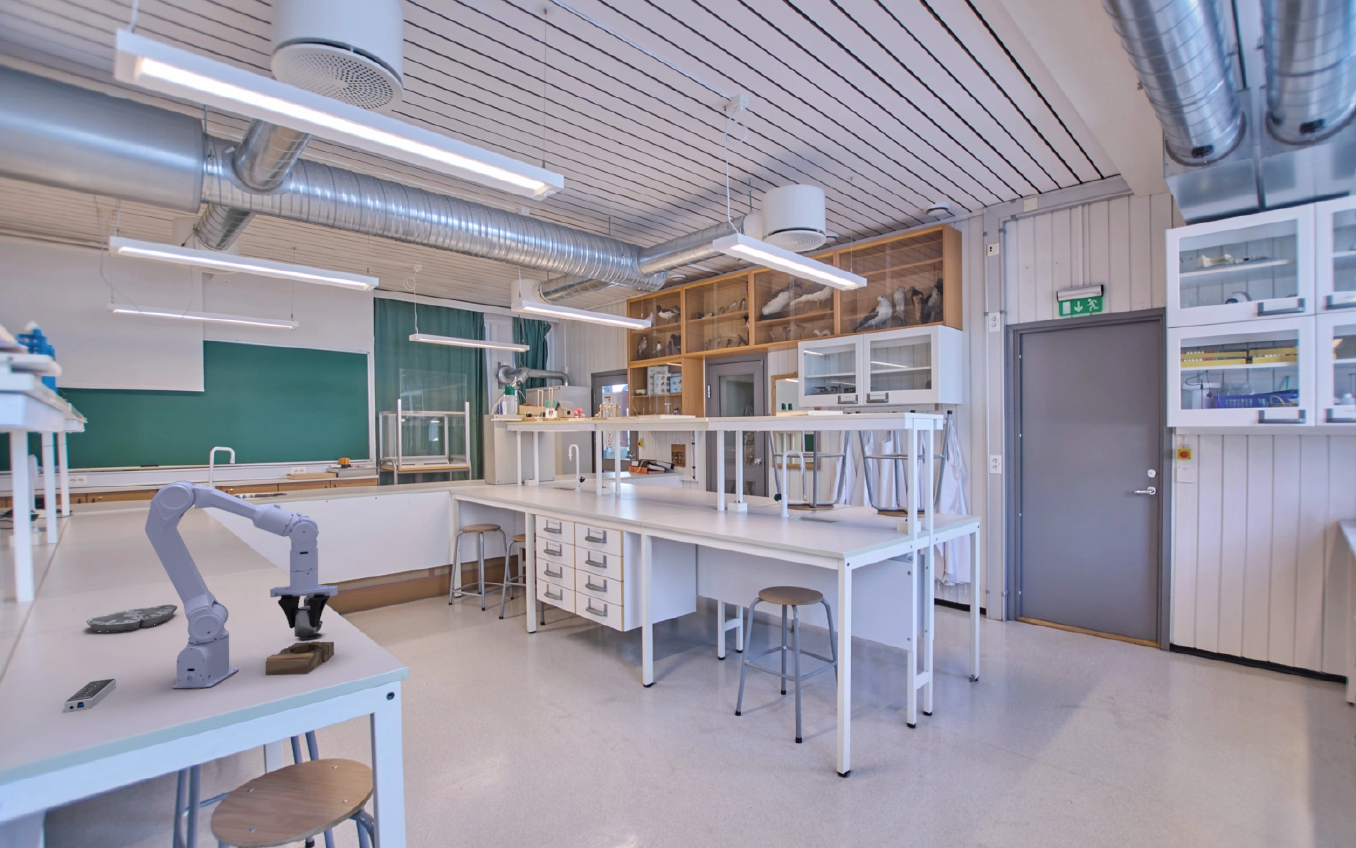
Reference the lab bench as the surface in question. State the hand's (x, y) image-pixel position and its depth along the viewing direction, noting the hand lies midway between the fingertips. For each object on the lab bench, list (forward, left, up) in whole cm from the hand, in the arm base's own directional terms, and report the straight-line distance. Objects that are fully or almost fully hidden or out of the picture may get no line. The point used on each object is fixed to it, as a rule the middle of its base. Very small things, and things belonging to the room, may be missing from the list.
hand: (304, 626), depth 147 cm
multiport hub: (-18, +33, -9) cm, 39 cm away
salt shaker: (+17, +8, -8) cm, 21 cm away
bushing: (0, 0, -2) cm, 2 cm away
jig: (-2, 0, -8) cm, 8 cm away
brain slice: (+32, +64, -9) cm, 72 cm away
